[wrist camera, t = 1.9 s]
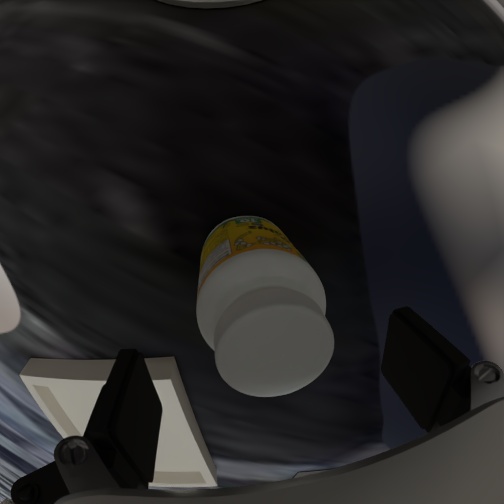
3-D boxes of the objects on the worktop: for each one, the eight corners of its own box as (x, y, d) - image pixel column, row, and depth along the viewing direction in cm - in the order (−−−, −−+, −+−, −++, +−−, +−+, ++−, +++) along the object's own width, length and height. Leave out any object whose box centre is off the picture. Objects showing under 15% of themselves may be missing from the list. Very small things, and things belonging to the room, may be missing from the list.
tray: (30, 357, 19) (19, 374, 16) (174, 356, 20) (170, 379, 17) (106, 465, 25) (103, 480, 22) (216, 468, 26) (217, 486, 24)
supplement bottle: (184, 264, 18) (160, 371, 9) (238, 194, 17) (265, 245, 8) (252, 309, 19) (281, 424, 10) (305, 248, 18) (380, 333, 9)
